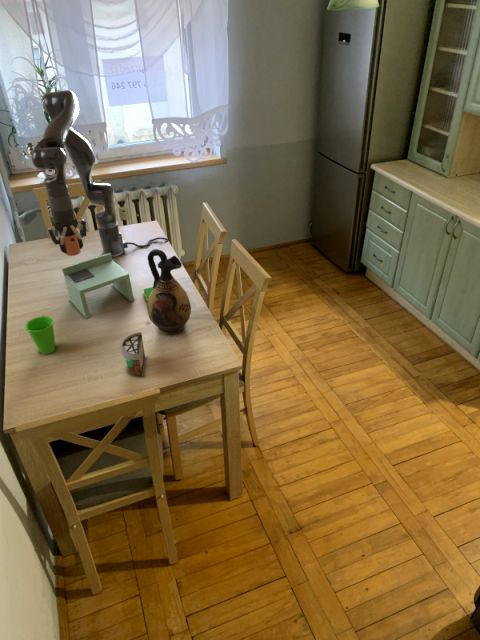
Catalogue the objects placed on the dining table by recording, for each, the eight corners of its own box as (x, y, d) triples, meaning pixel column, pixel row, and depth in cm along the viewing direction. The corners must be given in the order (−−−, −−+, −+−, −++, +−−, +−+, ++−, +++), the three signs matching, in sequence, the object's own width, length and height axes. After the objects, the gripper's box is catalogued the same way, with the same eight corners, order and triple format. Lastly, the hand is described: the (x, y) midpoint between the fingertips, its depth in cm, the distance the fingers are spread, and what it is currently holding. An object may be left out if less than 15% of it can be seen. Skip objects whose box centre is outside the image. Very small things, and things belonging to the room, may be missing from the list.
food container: (127, 356, 156) (122, 332, 151) (145, 355, 157) (141, 331, 151) (122, 381, 146) (117, 356, 141) (142, 379, 147) (137, 354, 141)
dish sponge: (161, 290, 192) (160, 285, 190) (169, 306, 181) (169, 301, 180) (144, 294, 190) (143, 288, 188) (151, 311, 179) (151, 305, 178)
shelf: (116, 284, 197) (109, 252, 188) (133, 300, 186) (127, 266, 177) (70, 301, 187) (61, 268, 178) (86, 318, 176) (77, 284, 168)
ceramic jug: (200, 320, 173) (193, 246, 156) (179, 343, 162) (169, 267, 145) (161, 310, 179) (151, 238, 162) (138, 332, 168) (124, 257, 151)
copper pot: (76, 247, 176) (71, 228, 172) (84, 254, 171) (79, 235, 167) (62, 251, 174) (57, 232, 169) (70, 258, 169) (65, 239, 164)
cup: (66, 344, 163) (59, 318, 157) (50, 360, 156) (41, 333, 150) (45, 339, 166) (37, 314, 159) (28, 355, 158) (18, 328, 152)
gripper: (44, 214, 156) (57, 259, 166) (85, 204, 163) (95, 248, 173) (37, 208, 161) (50, 252, 171) (77, 198, 168) (87, 241, 178)
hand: (72, 250), depth 172 cm, fingers closed on copper pot, 5 cm apart
